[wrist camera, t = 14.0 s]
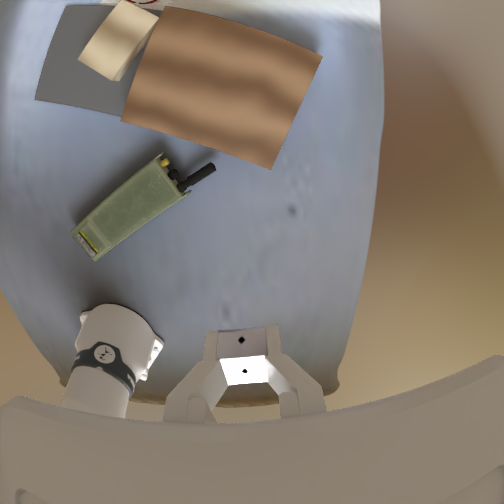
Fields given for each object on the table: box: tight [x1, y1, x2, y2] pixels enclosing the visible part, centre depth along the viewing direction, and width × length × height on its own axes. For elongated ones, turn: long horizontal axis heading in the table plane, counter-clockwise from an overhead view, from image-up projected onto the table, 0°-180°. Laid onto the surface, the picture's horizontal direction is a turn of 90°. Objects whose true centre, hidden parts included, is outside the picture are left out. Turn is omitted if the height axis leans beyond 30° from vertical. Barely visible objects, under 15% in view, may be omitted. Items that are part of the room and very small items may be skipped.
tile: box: [77, 0, 159, 81], centre depth 25 cm, size 10×7×2 cm
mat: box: [35, 5, 163, 117], centre depth 26 cm, size 16×18×1 cm
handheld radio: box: [70, 152, 216, 262], centre depth 37 cm, size 7×3×25 cm
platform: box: [121, 6, 323, 170], centre depth 29 cm, size 16×20×4 cm
